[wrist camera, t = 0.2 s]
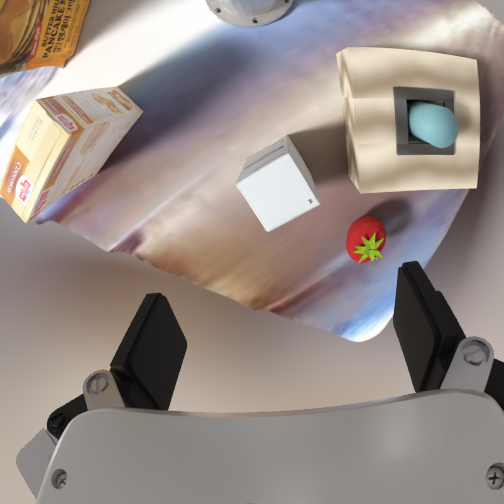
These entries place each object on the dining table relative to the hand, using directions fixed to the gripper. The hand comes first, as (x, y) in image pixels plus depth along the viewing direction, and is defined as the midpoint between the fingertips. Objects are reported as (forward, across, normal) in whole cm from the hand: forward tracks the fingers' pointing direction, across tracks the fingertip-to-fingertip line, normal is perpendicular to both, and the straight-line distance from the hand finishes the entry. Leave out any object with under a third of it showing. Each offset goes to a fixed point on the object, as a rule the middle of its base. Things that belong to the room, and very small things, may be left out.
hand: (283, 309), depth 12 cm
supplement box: (+36, +1, +4) cm, 37 cm away
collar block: (+36, -19, -2) cm, 41 cm away
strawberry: (+36, -10, +16) cm, 41 cm away
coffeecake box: (+36, +27, -8) cm, 46 cm away
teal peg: (+31, -19, -2) cm, 36 cm away
